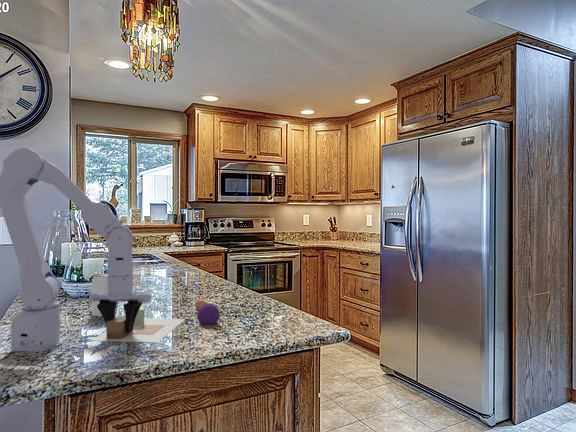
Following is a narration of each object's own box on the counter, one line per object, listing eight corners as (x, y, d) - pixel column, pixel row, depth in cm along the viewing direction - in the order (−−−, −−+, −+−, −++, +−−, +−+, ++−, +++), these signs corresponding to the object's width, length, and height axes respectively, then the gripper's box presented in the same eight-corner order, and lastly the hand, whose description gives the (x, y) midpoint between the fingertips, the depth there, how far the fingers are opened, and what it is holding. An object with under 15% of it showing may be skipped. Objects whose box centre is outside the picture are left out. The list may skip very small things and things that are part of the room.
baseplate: (157, 344, 93) (157, 341, 93) (89, 343, 94) (89, 340, 94) (185, 321, 113) (185, 318, 113) (129, 320, 114) (129, 317, 114)
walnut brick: (121, 339, 95) (121, 322, 95) (106, 338, 95) (106, 321, 95) (132, 331, 101) (133, 315, 101) (119, 331, 101) (119, 315, 101)
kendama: (212, 297, 127) (223, 306, 108) (209, 316, 126) (219, 329, 107) (193, 294, 125) (200, 303, 106) (189, 314, 124) (196, 327, 105)
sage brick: (144, 324, 107) (144, 309, 107) (129, 326, 106) (129, 310, 106) (142, 319, 113) (142, 304, 113) (128, 320, 111) (128, 306, 111)
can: (106, 318, 115) (106, 276, 115) (86, 317, 117) (86, 275, 117) (120, 313, 122) (120, 273, 122) (101, 312, 123) (101, 272, 123)
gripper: (81, 277, 95) (81, 335, 95) (142, 278, 94) (142, 337, 94) (98, 272, 102) (98, 327, 102) (154, 273, 101) (154, 328, 101)
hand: (120, 331), depth 98 cm, fingers open, 4 cm apart
